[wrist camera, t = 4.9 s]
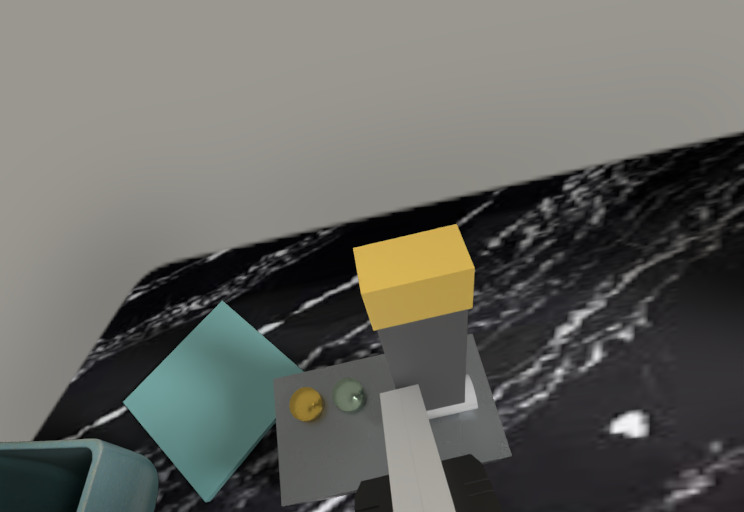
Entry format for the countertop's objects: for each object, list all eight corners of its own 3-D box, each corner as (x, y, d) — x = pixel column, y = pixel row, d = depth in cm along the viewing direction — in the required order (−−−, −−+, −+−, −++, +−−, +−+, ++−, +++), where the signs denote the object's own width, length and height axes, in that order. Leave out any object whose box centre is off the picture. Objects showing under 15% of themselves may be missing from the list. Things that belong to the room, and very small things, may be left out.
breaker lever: (477, 413, 20) (493, 263, 11) (396, 431, 20) (342, 298, 11) (466, 381, 21) (473, 219, 12) (389, 398, 21) (336, 251, 12)
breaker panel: (491, 463, 26) (514, 454, 18) (322, 500, 26) (276, 507, 19) (462, 366, 29) (472, 325, 22) (310, 400, 29) (267, 371, 22)
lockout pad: (311, 378, 30) (309, 376, 30) (209, 501, 27) (205, 502, 27) (225, 303, 34) (222, 300, 34) (128, 403, 31) (122, 402, 31)
